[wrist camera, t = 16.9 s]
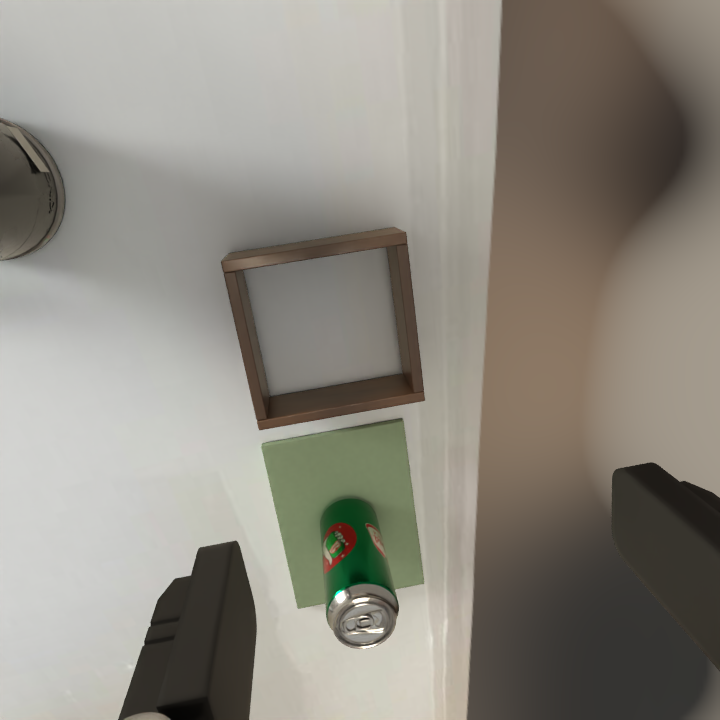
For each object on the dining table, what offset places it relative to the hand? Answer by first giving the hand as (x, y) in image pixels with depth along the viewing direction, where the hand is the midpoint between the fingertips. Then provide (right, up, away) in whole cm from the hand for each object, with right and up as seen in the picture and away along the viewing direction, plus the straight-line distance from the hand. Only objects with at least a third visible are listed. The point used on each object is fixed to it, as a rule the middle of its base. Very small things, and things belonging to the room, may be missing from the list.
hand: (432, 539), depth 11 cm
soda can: (-3, -10, +37) cm, 38 cm away
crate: (-4, +7, +31) cm, 32 cm away
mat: (-3, -10, +37) cm, 38 cm away
